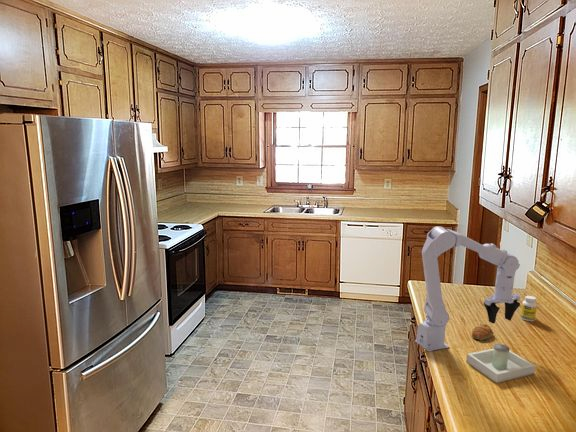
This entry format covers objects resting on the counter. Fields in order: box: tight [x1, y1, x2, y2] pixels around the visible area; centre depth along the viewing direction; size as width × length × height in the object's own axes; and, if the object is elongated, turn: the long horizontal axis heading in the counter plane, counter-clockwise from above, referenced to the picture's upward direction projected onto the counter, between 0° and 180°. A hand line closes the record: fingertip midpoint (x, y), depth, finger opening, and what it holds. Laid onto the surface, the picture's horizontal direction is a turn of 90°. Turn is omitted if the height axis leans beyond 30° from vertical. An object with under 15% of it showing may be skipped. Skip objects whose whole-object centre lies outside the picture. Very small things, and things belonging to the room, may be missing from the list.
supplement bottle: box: [520, 295, 538, 322], centre depth 176 cm, size 5×5×10 cm
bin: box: [465, 348, 536, 384], centre depth 139 cm, size 16×13×3 cm
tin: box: [492, 343, 510, 370], centre depth 139 cm, size 5×5×7 cm
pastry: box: [471, 323, 494, 341], centre depth 161 cm, size 9×7×4 cm
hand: (499, 320), depth 152 cm, fingers open, 7 cm apart
